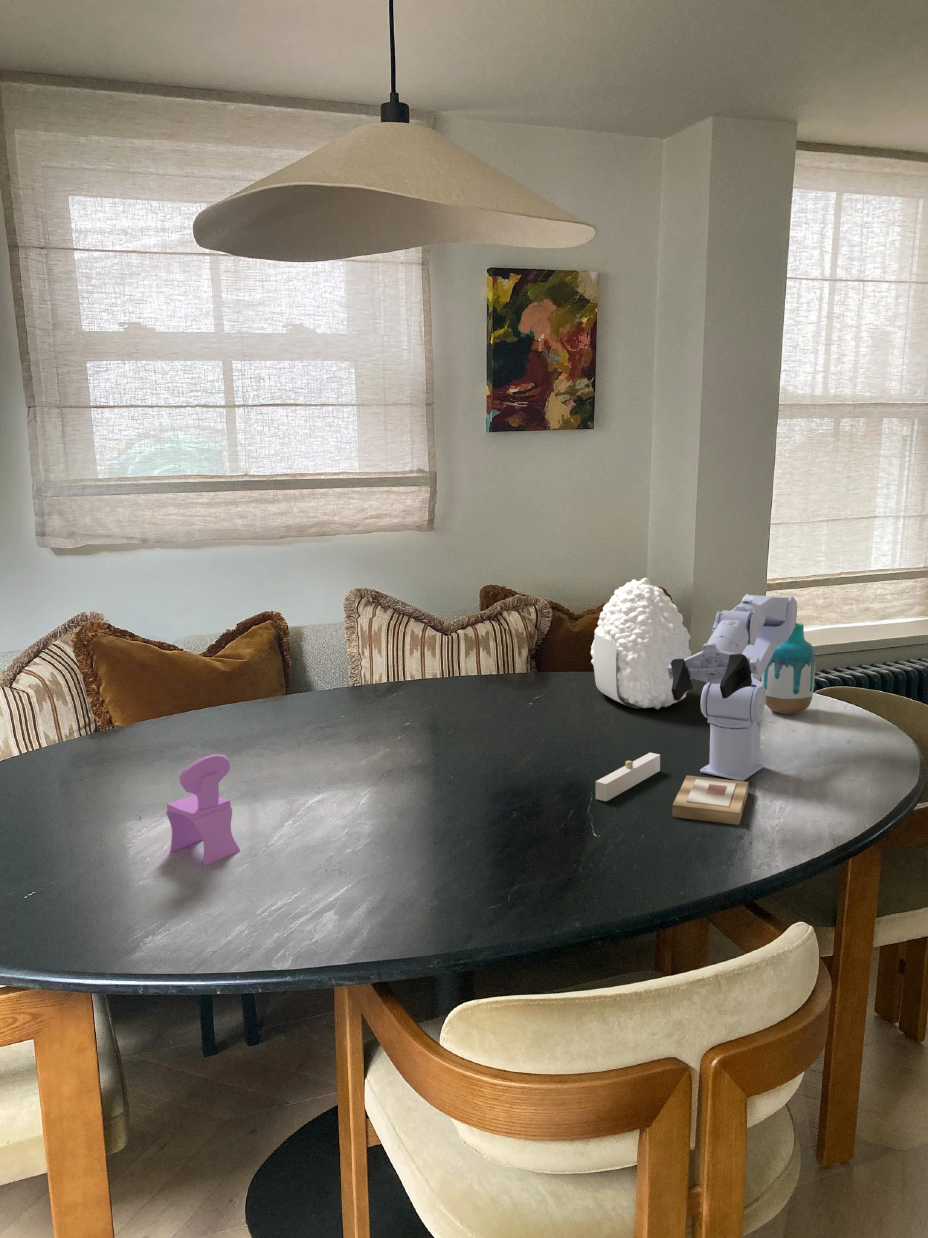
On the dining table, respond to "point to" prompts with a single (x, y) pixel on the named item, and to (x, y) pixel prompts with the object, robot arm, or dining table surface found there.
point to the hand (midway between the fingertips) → (698, 693)
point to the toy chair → (203, 810)
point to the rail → (627, 776)
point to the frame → (711, 800)
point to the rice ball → (639, 646)
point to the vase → (790, 674)
